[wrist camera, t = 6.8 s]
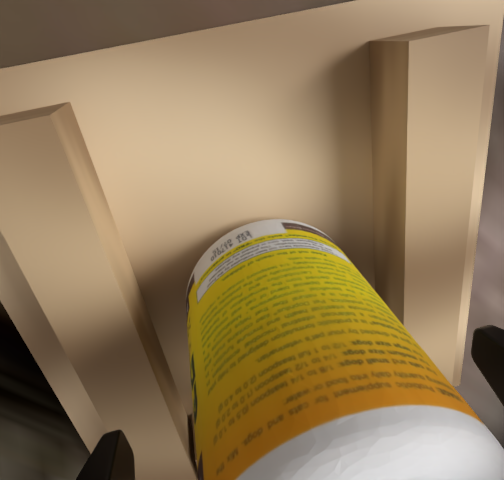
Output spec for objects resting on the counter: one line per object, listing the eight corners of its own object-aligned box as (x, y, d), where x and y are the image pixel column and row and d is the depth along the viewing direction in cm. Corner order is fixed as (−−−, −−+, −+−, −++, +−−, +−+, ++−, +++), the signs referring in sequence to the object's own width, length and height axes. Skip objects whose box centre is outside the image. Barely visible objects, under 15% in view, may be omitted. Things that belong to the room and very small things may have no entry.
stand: (440, 361, 20) (491, 421, 16) (114, 455, 18) (104, 540, 15) (471, -22, 12) (576, -43, 9) (-87, 85, 10) (-191, 105, 7)
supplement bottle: (150, 267, 12) (108, 846, 4) (306, 180, 12) (695, 576, 3) (233, 372, 15) (330, 856, 6) (363, 303, 15) (663, 708, 6)
